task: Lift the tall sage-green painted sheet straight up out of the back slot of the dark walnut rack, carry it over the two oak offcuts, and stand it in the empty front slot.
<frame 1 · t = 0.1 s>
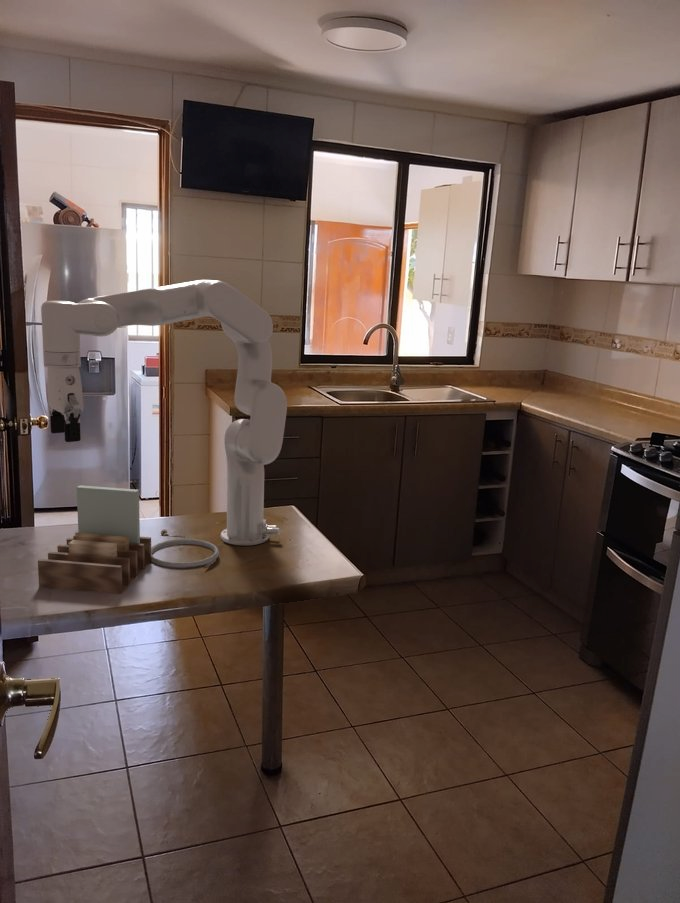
hand: (65, 436, 164), 31 cm above the table, tool pointing down, fingers open, 9 cm apart
offcut light: (93, 577, 164), point 1 cm above the table, touching rack
rack: (98, 577, 166), on the table
offcut dark: (102, 569, 168), point 1 cm above the table, touching rack
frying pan: (177, 553, 184), on the table
tall sheet: (109, 562, 173), point 1 cm above the table, touching rack
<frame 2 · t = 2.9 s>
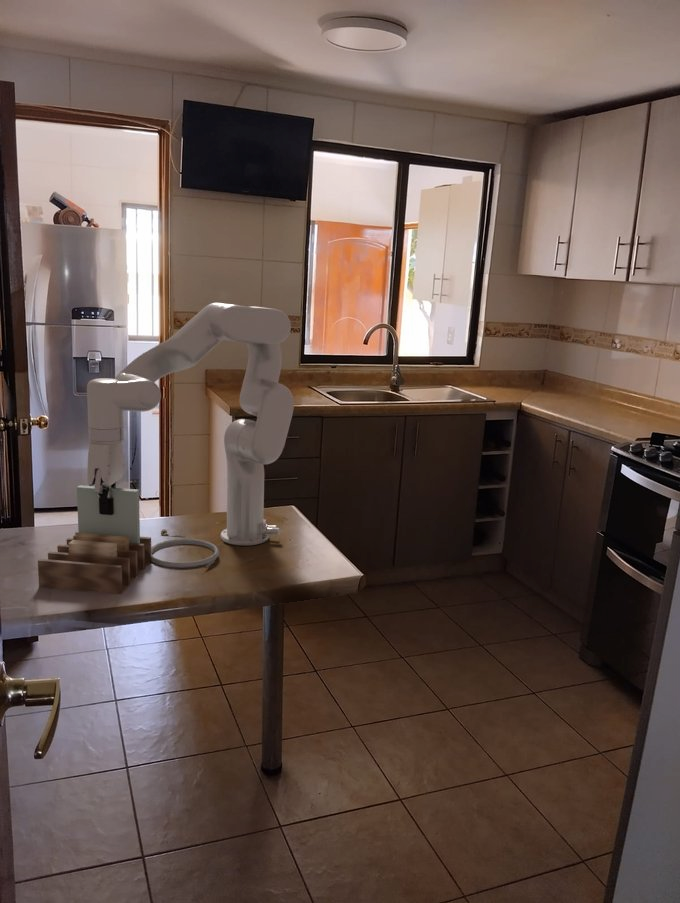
hand: (108, 512, 170), 13 cm above the table, tool pointing down, fingers closed on tall sheet, 1 cm apart
tall sheet: (110, 562, 173), point 1 cm above the table, touching gripper
everything else where it was.
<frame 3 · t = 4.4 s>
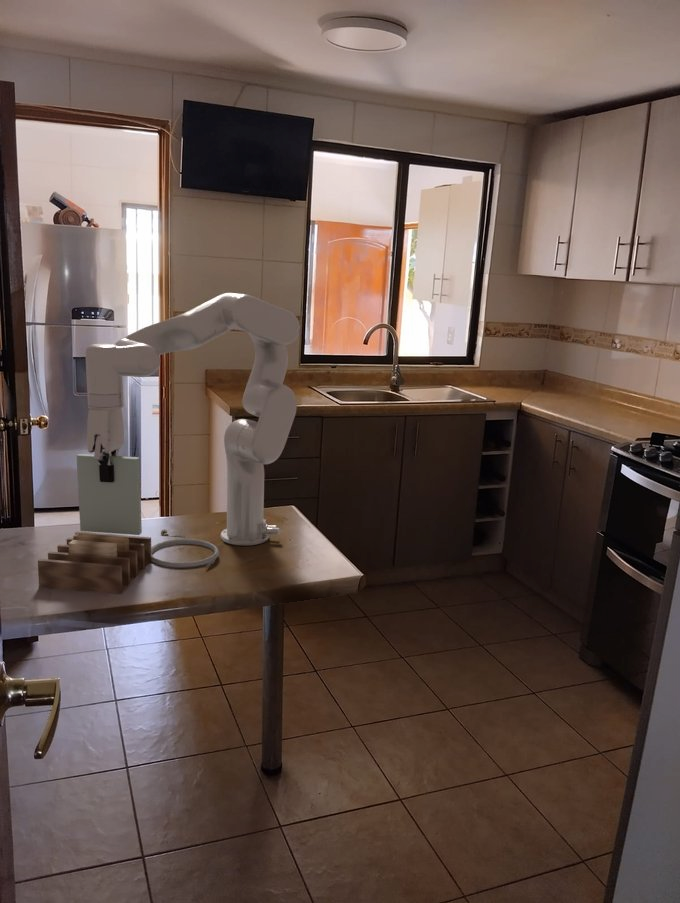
hand: (109, 479, 168), 21 cm above the table, tool pointing down, fingers closed on tall sheet, 1 cm apart
tall sheet: (111, 531, 171), point 8 cm above the table, touching gripper
everything else where it was.
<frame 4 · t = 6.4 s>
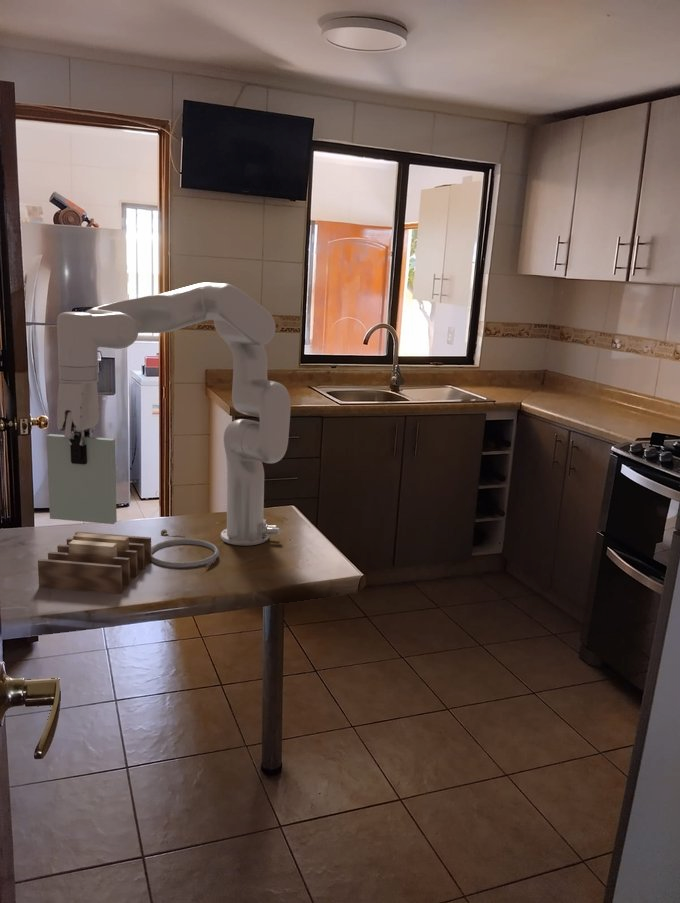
hand: (81, 461, 154), 28 cm above the table, tool pointing down, fingers closed on tall sheet, 1 cm apart
tall sheet: (83, 520, 157), point 16 cm above the table, touching gripper
everything else where it was.
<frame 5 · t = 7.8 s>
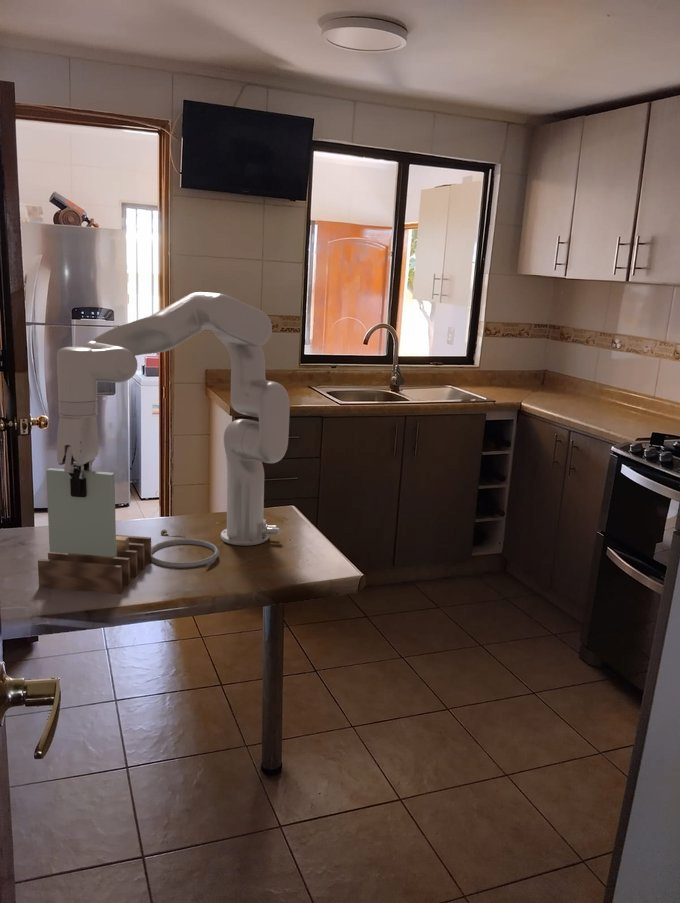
hand: (81, 494, 155), 21 cm above the table, tool pointing down, fingers closed on tall sheet, 1 cm apart
tall sheet: (82, 552, 158), point 8 cm above the table, touching gripper
everything else where it was.
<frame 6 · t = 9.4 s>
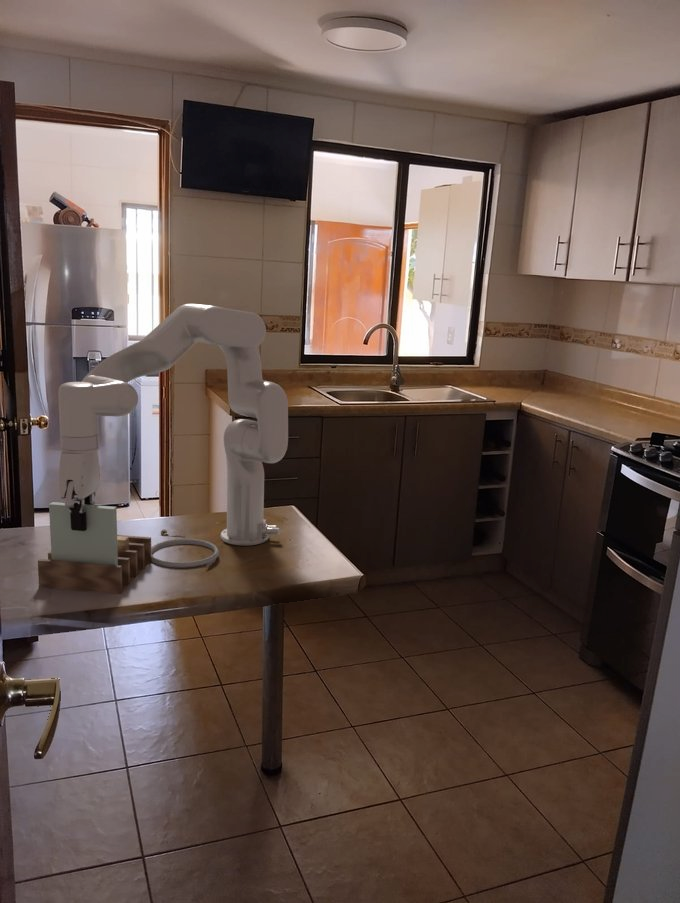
hand: (83, 526, 157), 14 cm above the table, tool pointing down, fingers open, 3 cm apart
tall sheet: (85, 585, 160), point 1 cm above the table, touching rack
everything else where it was.
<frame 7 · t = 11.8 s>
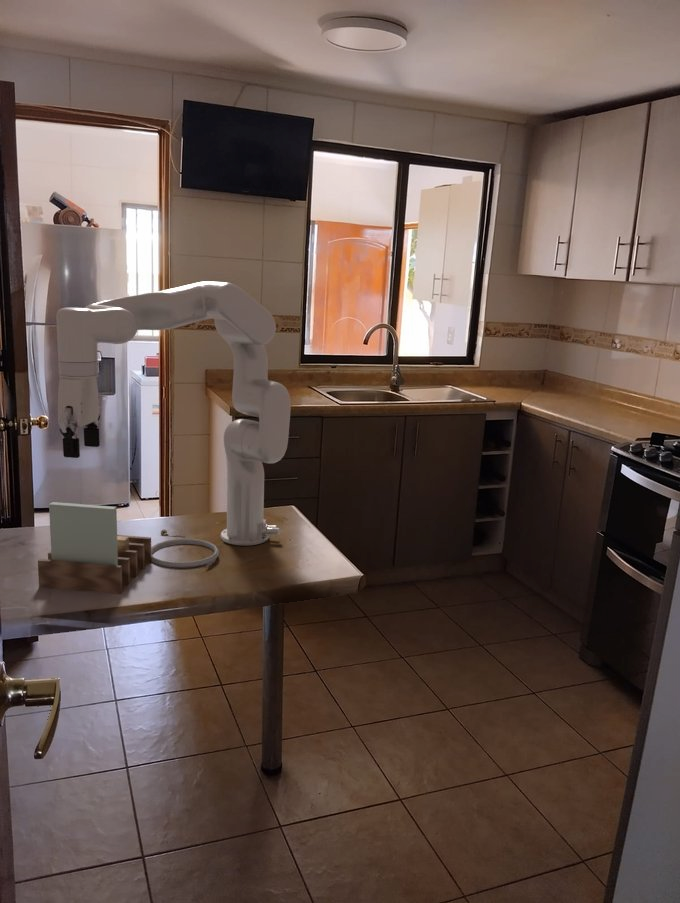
hand: (82, 451, 154), 30 cm above the table, tool pointing down, fingers open, 9 cm apart
nothing on the table moved.
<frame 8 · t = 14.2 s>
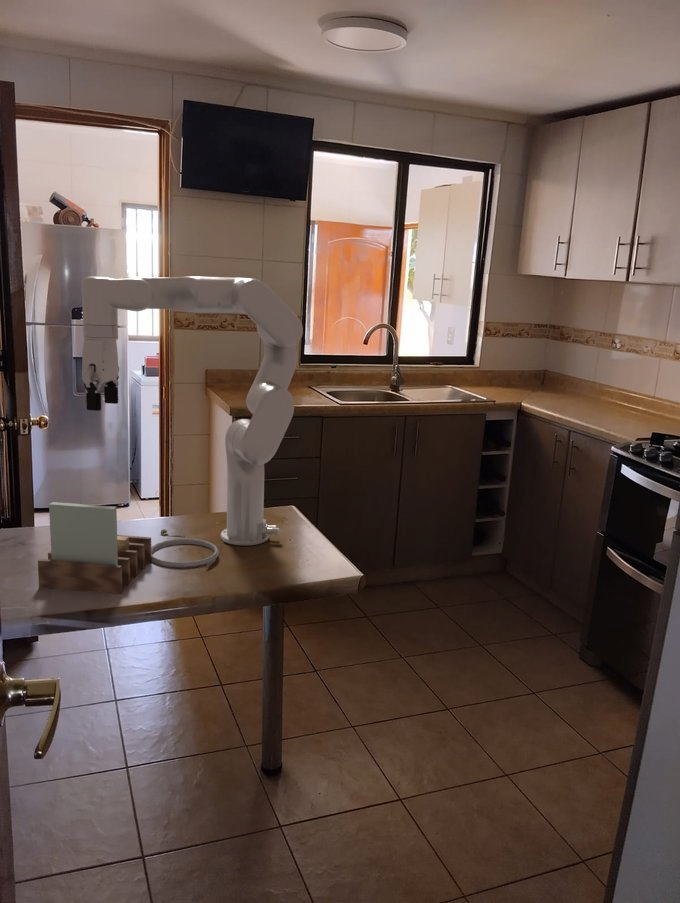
hand: (103, 406, 172), 36 cm above the table, tool pointing down, fingers open, 9 cm apart
nothing on the table moved.
at the end: tall sheet 0.1 cm from the target spot on the rack, point 1.0 cm above the rack's base; tall sheet tilted 0°; offcut light moved 0.0 cm from its start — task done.
